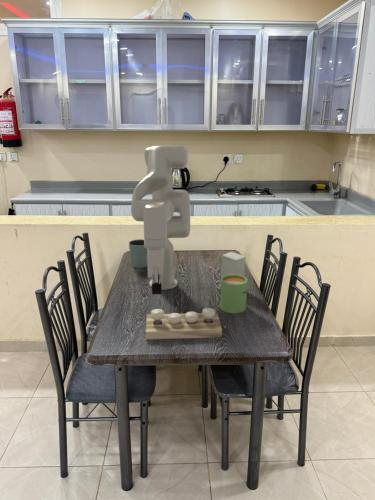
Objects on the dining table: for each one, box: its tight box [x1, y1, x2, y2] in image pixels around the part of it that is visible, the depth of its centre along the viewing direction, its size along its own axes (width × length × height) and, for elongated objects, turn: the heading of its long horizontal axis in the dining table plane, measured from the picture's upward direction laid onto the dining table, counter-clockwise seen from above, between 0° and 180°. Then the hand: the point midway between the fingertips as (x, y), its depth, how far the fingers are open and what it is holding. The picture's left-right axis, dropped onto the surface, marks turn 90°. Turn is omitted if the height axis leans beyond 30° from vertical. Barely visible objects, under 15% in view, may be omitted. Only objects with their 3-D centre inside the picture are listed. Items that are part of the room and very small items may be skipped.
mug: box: [219, 274, 248, 314], centre depth 156 cm, size 13×10×12 cm
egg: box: [201, 307, 216, 323], centre depth 140 cm, size 4×4×5 cm
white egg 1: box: [168, 312, 181, 324], centre depth 140 cm, size 4×4×5 cm
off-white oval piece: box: [150, 308, 165, 325], centre depth 139 cm, size 4×4×5 cm
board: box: [145, 312, 223, 340], centre depth 141 cm, size 12×26×3 cm, turn 93°
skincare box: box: [219, 251, 246, 289], centre depth 171 cm, size 8×7×16 cm
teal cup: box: [128, 239, 148, 269], centre depth 198 cm, size 10×10×12 cm
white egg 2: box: [184, 311, 199, 324], centre depth 140 cm, size 4×4×5 cm
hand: (156, 293), depth 135 cm, fingers closed
